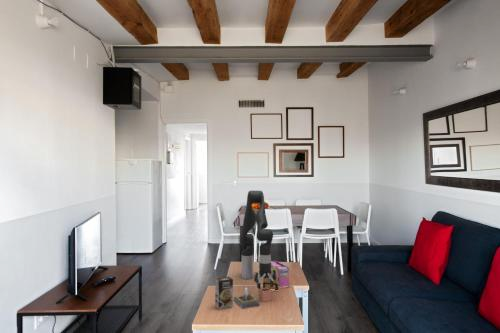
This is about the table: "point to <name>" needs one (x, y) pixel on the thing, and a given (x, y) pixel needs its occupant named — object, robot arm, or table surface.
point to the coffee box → (224, 292)
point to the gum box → (281, 273)
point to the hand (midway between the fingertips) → (265, 287)
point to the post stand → (246, 300)
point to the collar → (265, 294)
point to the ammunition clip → (267, 283)
